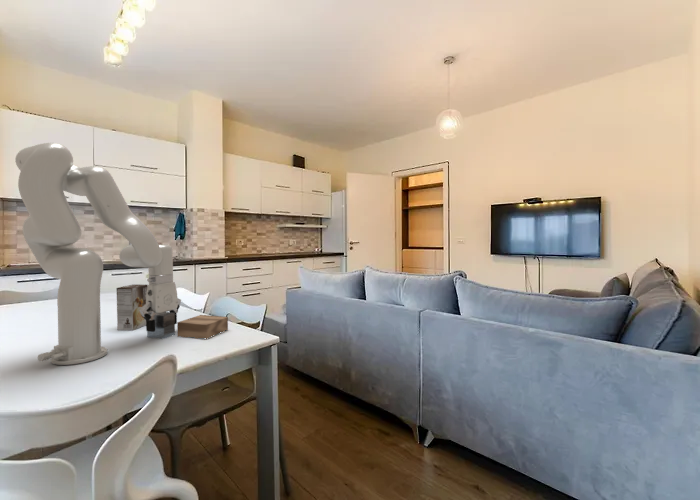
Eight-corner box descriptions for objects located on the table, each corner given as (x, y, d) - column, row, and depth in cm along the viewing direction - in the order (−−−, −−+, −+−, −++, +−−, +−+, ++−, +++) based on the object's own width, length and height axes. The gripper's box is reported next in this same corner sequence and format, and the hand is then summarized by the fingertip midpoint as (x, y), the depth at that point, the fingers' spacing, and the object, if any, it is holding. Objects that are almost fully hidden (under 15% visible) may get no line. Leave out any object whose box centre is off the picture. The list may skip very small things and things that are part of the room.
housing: (163, 338, 115) (163, 315, 115) (147, 337, 117) (147, 314, 117) (174, 334, 120) (174, 312, 120) (158, 333, 122) (158, 311, 121)
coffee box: (133, 324, 134) (132, 284, 133) (148, 324, 133) (148, 284, 133) (116, 330, 124) (115, 287, 124) (133, 330, 124) (132, 287, 124)
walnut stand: (206, 339, 115) (206, 324, 115) (177, 336, 118) (177, 322, 118) (227, 330, 126) (227, 317, 126) (200, 327, 129) (200, 314, 129)
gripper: (149, 283, 108) (150, 335, 109) (187, 276, 125) (188, 322, 126) (130, 282, 110) (132, 333, 111) (171, 276, 127) (172, 320, 128)
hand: (162, 327), depth 119 cm, fingers open, 9 cm apart
